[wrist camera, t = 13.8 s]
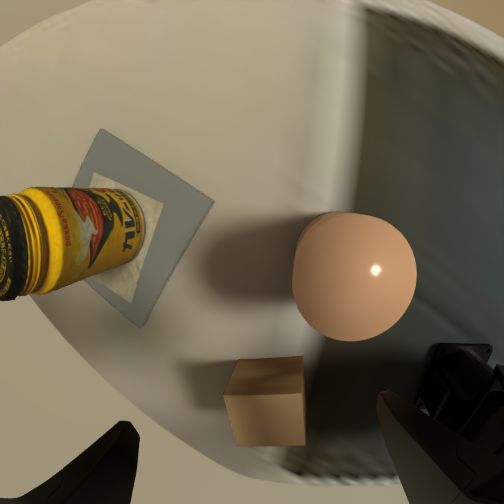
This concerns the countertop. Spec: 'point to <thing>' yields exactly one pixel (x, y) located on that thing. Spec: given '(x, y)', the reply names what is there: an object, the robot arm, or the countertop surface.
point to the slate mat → (168, 226)
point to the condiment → (74, 237)
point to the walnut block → (267, 402)
